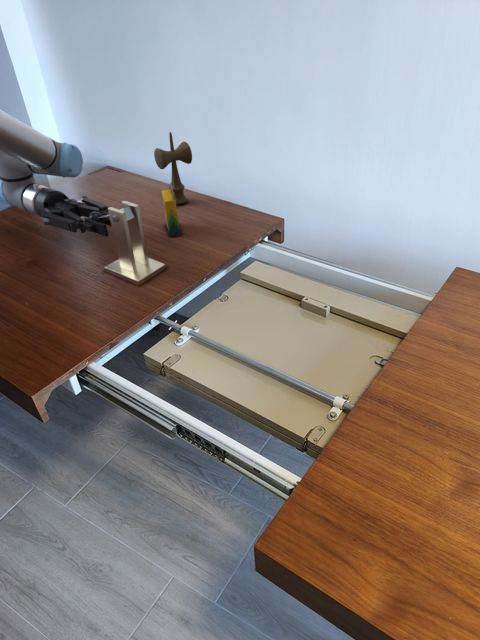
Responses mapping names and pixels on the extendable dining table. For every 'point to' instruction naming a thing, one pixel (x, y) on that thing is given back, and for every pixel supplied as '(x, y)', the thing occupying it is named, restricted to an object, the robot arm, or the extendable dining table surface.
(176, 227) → the crayon box
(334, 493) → the extendable dining table surface
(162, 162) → the kendama
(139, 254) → the switch bracket
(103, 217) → the lever
